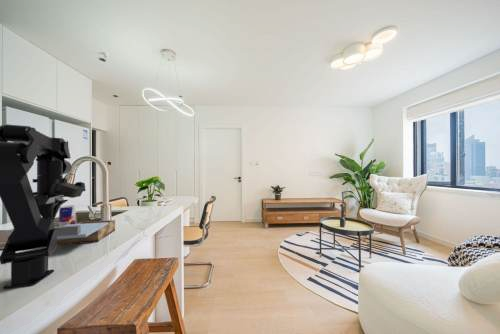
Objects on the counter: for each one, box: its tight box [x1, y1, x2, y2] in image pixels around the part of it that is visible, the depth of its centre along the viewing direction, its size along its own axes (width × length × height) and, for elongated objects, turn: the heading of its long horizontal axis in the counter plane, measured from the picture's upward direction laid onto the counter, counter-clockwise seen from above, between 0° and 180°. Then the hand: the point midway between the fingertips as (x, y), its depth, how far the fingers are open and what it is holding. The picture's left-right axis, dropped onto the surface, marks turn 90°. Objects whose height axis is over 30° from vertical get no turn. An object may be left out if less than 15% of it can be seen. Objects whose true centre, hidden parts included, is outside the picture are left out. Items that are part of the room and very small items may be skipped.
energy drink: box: [58, 204, 76, 226], centre depth 86 cm, size 5×5×12 cm
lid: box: [54, 222, 108, 239], centre depth 71 cm, size 15×15×4 cm
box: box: [56, 219, 116, 246], centre depth 79 cm, size 14×14×5 cm
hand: (50, 223), depth 60 cm, fingers closed
